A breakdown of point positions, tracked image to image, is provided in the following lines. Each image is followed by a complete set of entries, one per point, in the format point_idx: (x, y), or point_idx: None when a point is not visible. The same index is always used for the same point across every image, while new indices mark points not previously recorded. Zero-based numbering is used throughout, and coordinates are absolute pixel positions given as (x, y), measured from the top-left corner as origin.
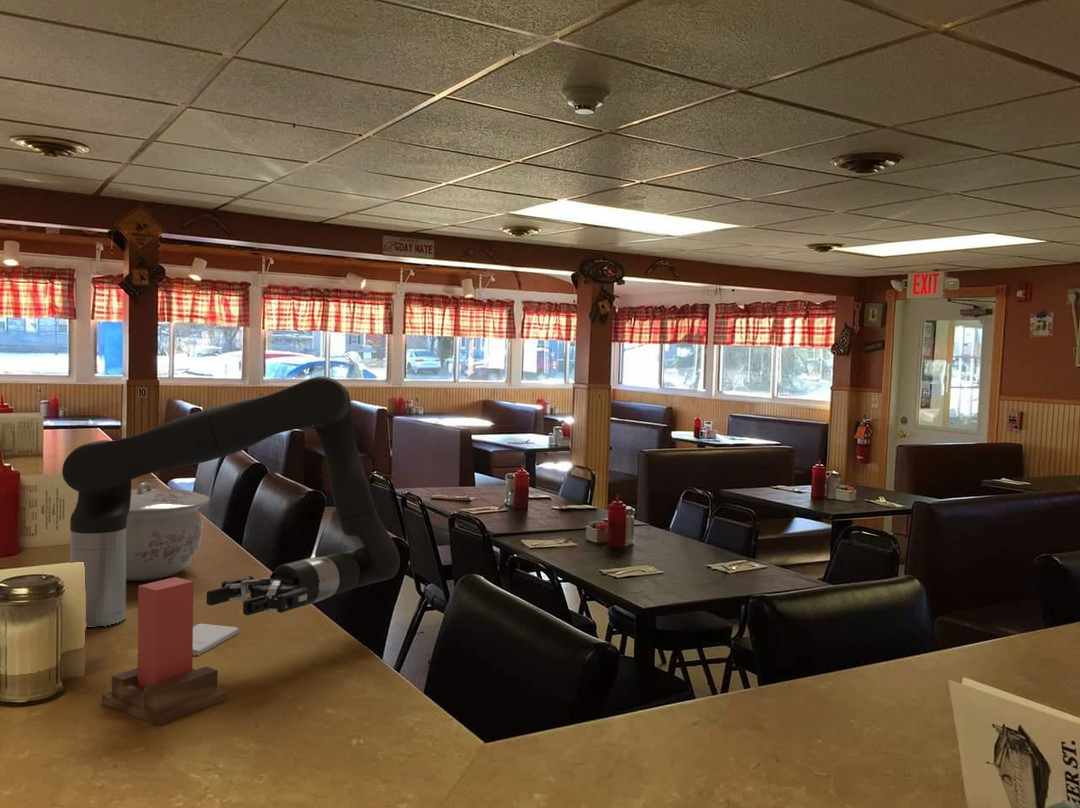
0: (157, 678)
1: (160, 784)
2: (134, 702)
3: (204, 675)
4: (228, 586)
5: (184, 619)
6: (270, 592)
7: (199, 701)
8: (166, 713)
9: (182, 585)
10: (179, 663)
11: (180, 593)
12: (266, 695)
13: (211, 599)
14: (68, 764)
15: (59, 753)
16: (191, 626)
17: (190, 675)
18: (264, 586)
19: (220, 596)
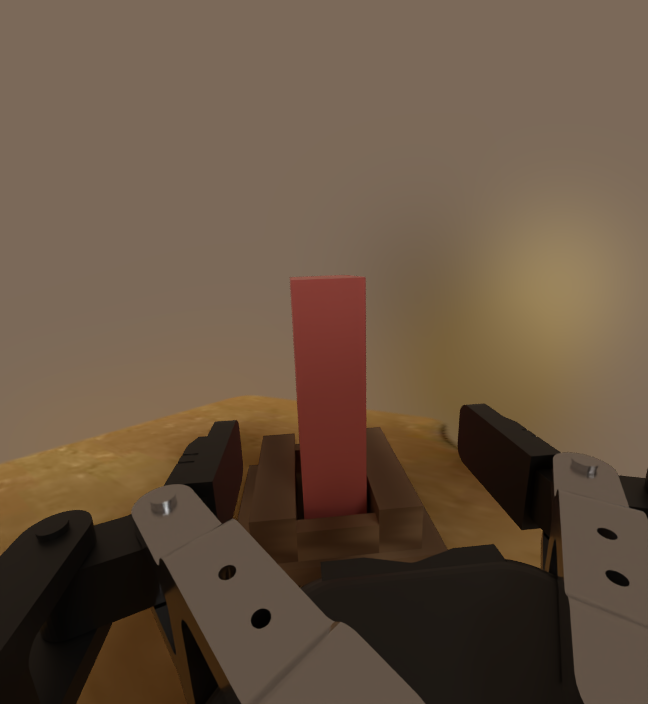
0: (299, 442)
1: (135, 437)
2: None
3: (253, 497)
4: (555, 460)
5: (295, 368)
6: (198, 529)
7: (240, 518)
8: (250, 473)
9: (290, 283)
10: (300, 454)
11: (291, 301)
12: (132, 699)
13: (463, 437)
14: (256, 416)
15: (286, 418)
16: (297, 396)
17: (275, 480)
18: (436, 622)
19: (489, 460)
